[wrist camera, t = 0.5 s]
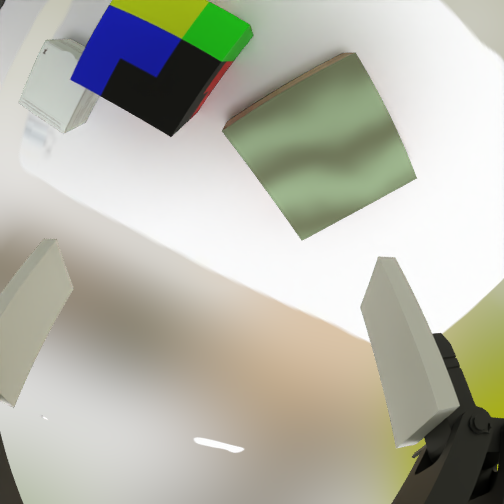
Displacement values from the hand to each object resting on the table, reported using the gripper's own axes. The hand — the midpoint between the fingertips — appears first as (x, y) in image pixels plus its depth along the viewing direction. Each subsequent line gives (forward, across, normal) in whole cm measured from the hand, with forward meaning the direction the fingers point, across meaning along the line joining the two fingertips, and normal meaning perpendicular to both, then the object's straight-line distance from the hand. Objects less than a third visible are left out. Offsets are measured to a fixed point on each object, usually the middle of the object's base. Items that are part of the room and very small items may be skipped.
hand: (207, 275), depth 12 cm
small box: (+24, -18, +7) cm, 31 cm away
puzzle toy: (+23, -6, +9) cm, 26 cm away
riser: (+23, +8, 0) cm, 24 cm away
